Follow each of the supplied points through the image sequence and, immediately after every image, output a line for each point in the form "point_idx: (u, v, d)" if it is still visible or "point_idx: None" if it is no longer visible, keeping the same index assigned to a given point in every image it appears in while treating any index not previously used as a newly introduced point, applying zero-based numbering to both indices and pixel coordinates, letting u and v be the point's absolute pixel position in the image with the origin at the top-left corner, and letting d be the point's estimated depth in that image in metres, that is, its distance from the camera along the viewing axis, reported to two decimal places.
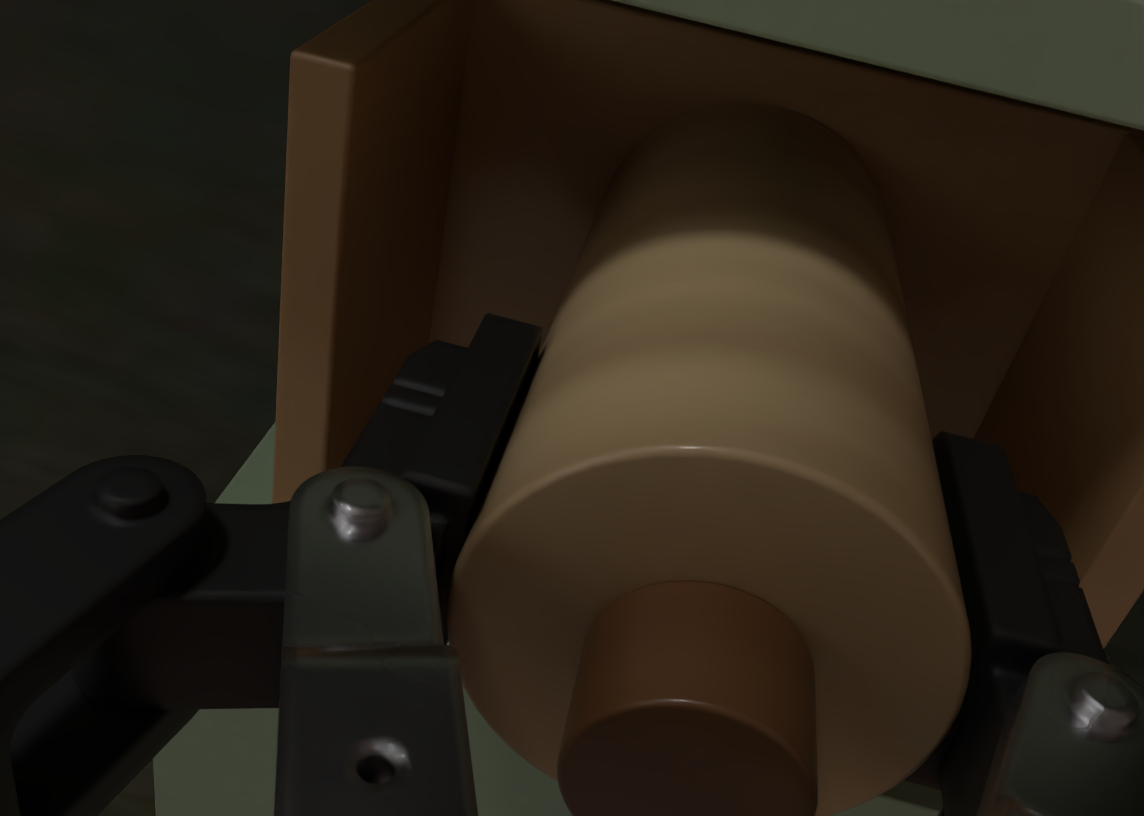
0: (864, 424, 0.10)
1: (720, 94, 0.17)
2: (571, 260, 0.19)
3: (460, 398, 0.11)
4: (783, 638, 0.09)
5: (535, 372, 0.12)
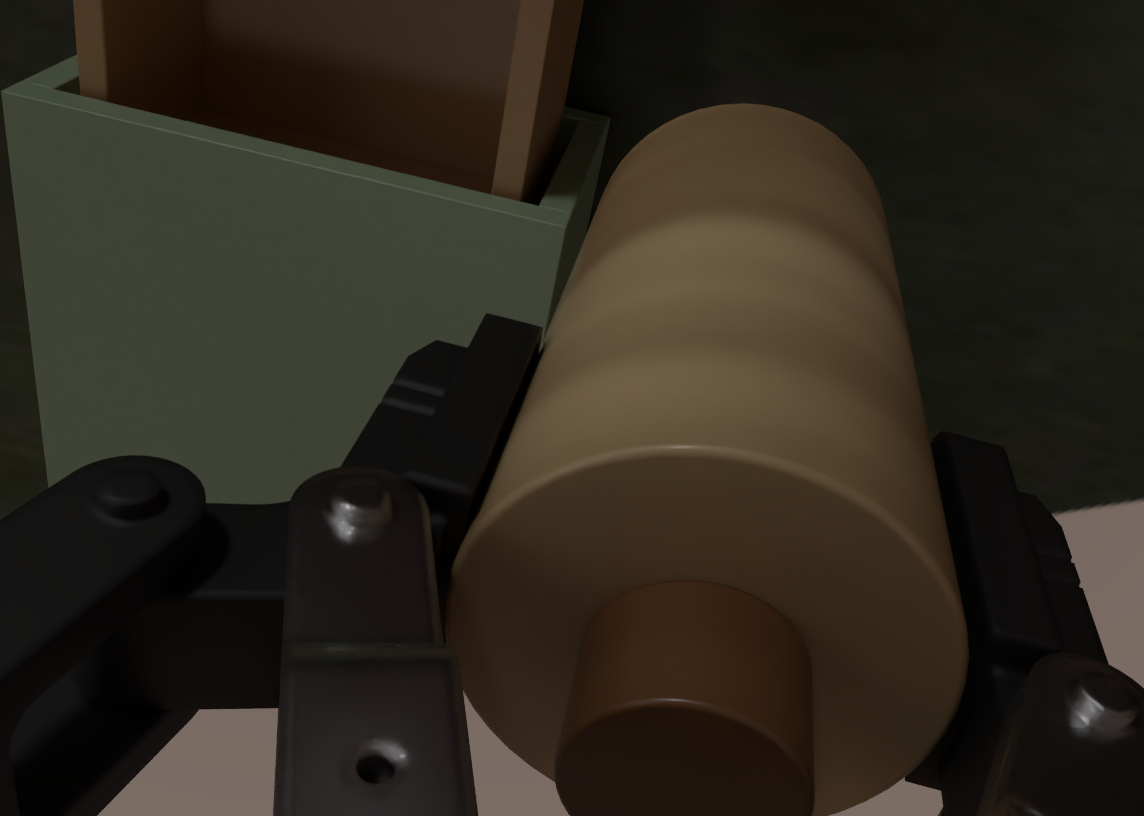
0: (862, 424, 0.10)
1: None
2: None
3: (460, 398, 0.11)
4: (780, 638, 0.09)
5: (533, 372, 0.12)
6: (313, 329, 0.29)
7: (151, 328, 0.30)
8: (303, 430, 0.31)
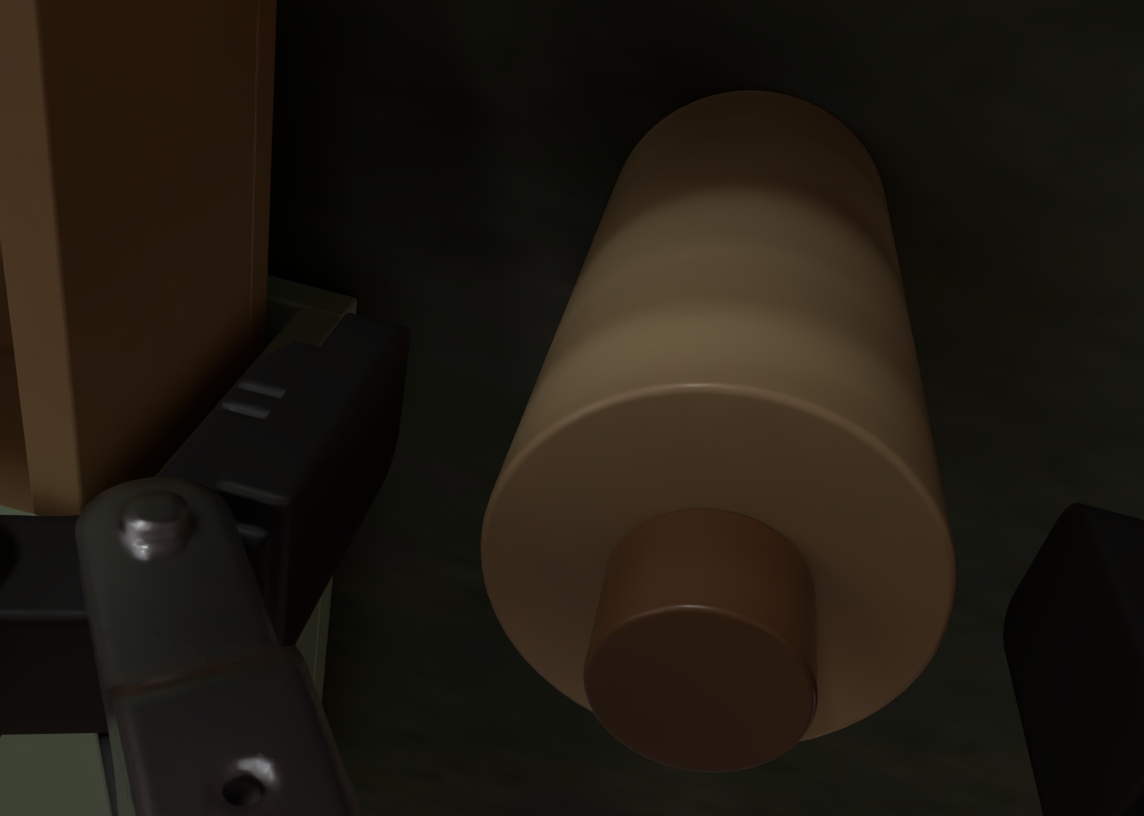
0: (861, 369, 0.11)
1: None
2: None
3: (297, 402, 0.10)
4: (787, 559, 0.10)
5: (559, 332, 0.13)
6: None
7: None
8: None
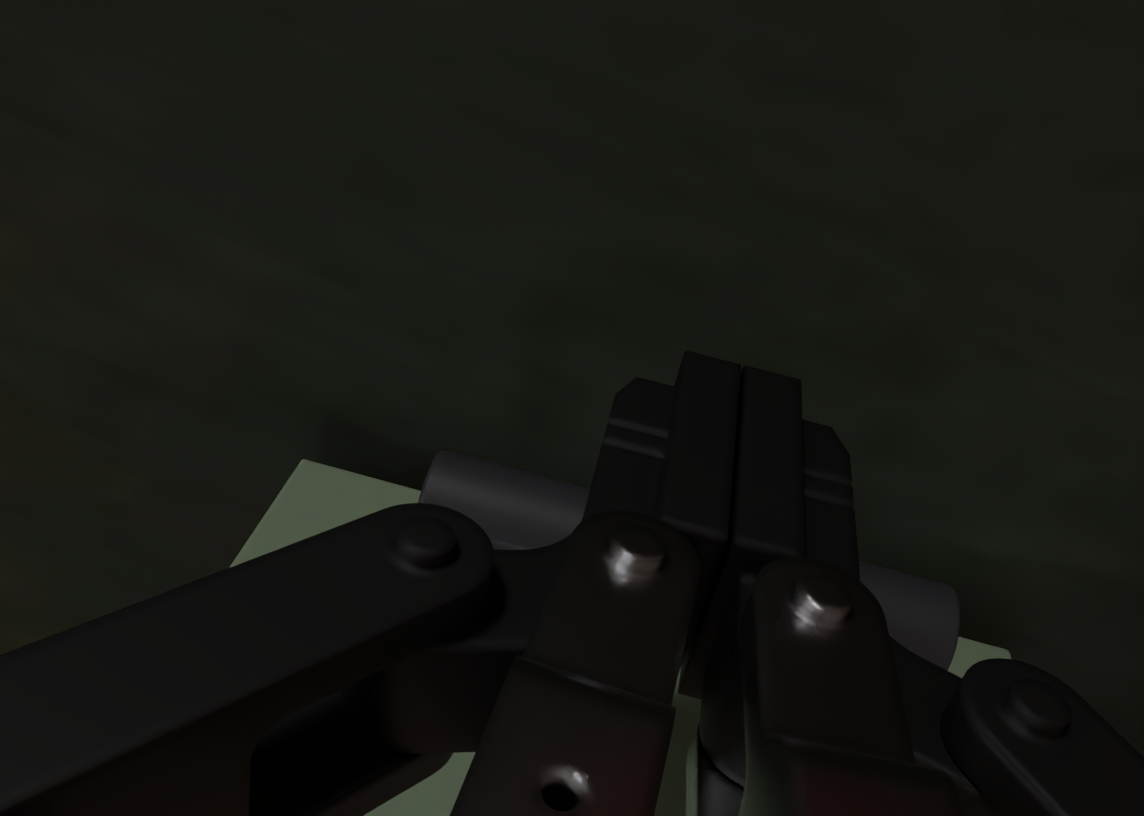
0: None
1: None
2: None
3: (688, 440, 0.11)
4: None
5: None
6: None
7: None
8: None
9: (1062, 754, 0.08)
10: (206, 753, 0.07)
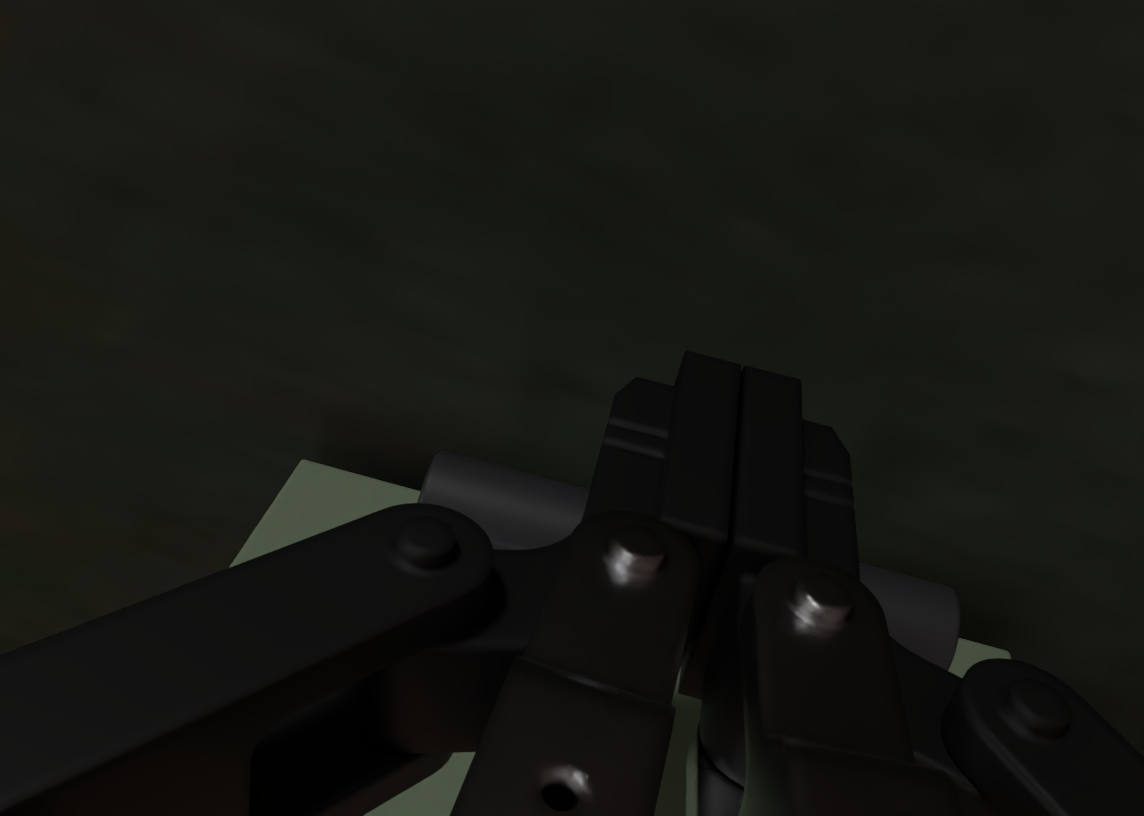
0: None
1: None
2: None
3: (688, 440, 0.11)
4: None
5: None
6: None
7: None
8: None
9: (1063, 754, 0.08)
10: (206, 752, 0.07)
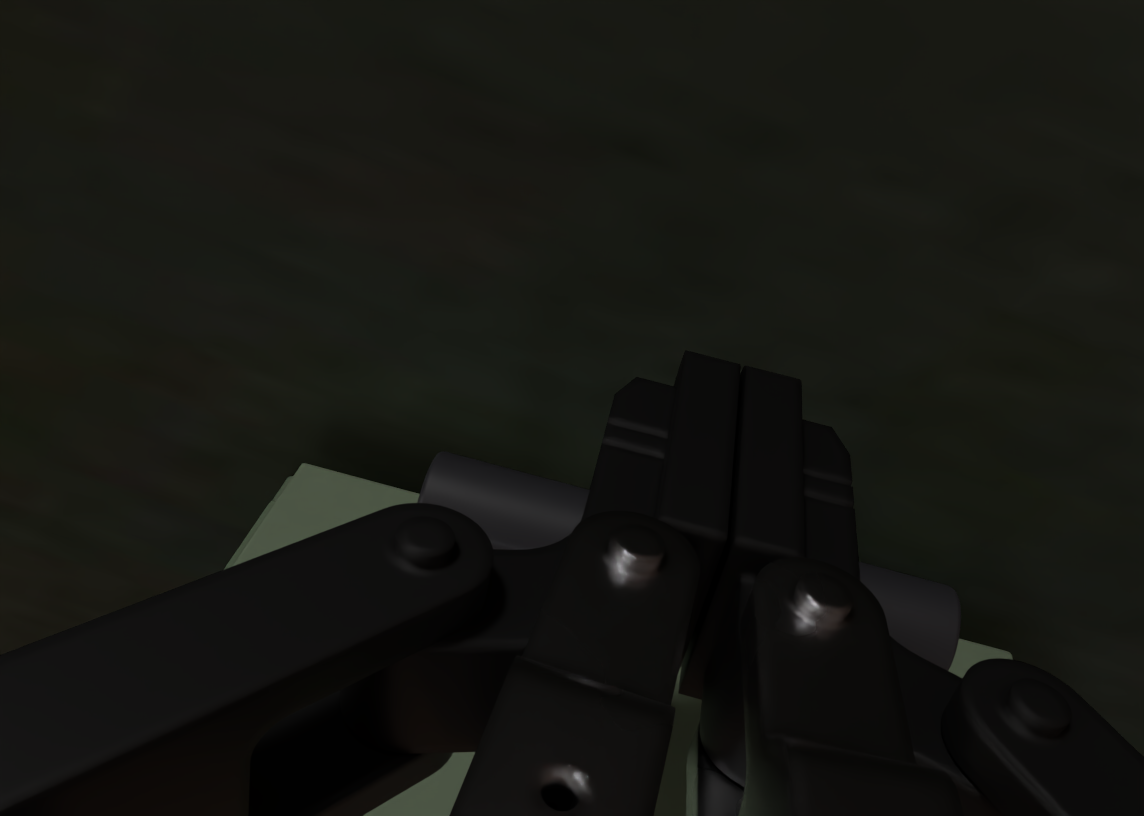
0: None
1: None
2: None
3: (688, 439, 0.11)
4: None
5: None
6: None
7: None
8: None
9: (1063, 753, 0.08)
10: (206, 753, 0.07)
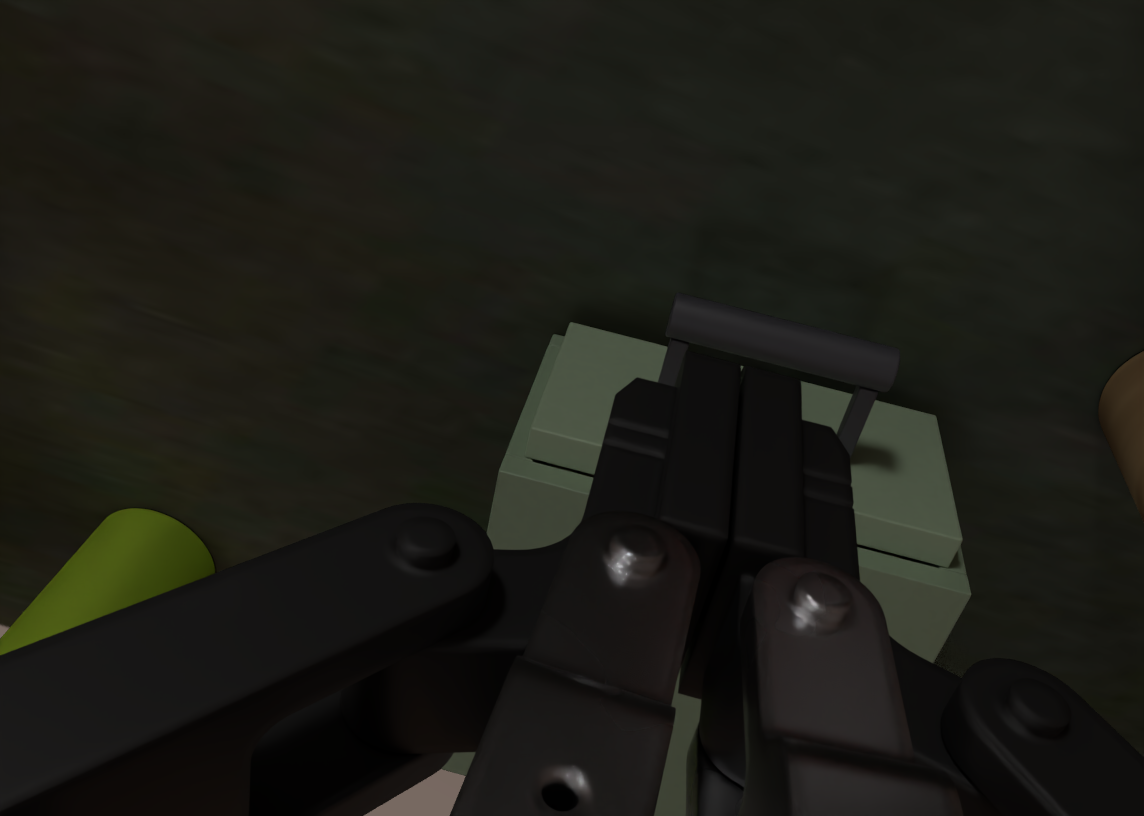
0: None
1: None
2: None
3: (689, 440, 0.11)
4: None
5: None
6: None
7: None
8: (694, 717, 0.37)
9: (1063, 753, 0.08)
10: (206, 752, 0.07)
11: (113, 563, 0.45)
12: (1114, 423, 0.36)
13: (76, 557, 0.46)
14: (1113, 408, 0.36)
